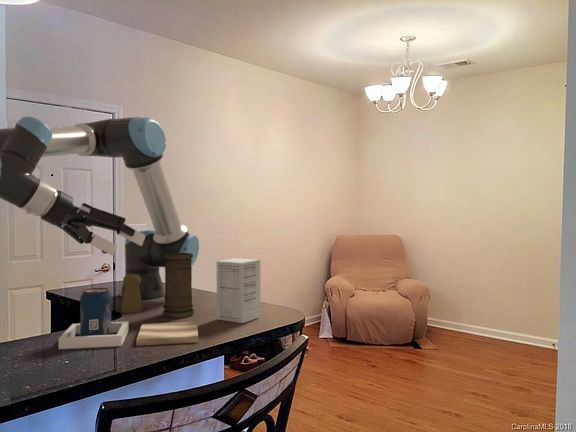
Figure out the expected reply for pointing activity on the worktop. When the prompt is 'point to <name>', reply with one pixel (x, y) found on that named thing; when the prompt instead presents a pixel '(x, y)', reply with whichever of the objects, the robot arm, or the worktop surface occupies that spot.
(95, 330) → the soda can
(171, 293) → the container
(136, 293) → the olive brown rounded figure
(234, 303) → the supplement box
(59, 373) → the worktop surface
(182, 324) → the birch board
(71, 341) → the tray
